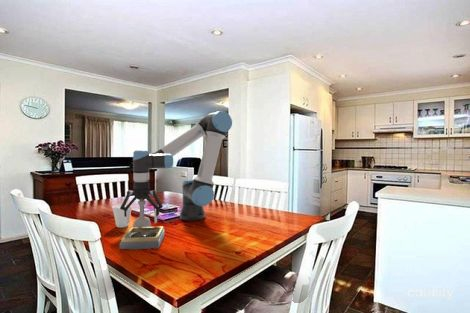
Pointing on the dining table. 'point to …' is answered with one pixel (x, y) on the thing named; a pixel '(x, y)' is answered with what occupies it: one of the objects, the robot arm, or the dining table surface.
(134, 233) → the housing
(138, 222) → the potion bottle
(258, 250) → the dining table surface
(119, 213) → the cup
